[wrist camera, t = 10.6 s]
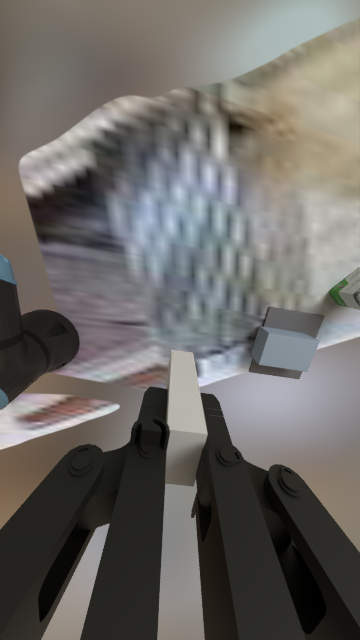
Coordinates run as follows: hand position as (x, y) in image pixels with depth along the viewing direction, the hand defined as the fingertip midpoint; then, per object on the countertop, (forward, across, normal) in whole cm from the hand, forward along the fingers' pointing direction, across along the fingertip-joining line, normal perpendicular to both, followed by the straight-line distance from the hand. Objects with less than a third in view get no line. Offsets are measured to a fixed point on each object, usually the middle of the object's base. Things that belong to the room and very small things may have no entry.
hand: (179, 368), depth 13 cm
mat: (+32, +30, -8) cm, 45 cm away
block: (+29, +21, -8) cm, 37 cm away
